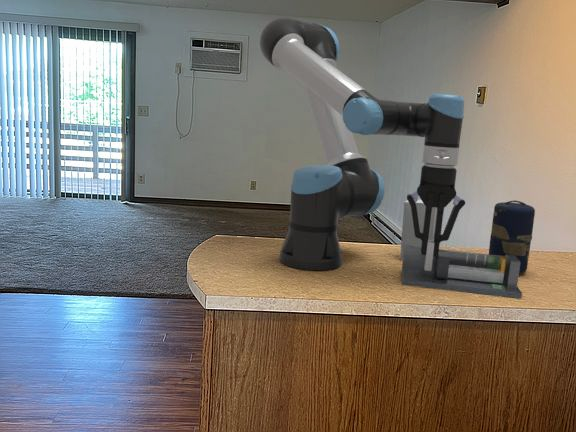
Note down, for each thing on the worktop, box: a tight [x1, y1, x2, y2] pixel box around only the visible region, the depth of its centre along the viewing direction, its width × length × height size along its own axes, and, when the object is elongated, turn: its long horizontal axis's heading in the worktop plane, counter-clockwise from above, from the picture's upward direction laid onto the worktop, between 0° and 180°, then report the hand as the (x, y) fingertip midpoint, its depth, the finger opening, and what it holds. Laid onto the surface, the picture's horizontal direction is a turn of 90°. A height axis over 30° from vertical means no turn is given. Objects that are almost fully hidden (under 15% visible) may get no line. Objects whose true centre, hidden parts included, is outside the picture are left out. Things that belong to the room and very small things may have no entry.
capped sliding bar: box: [435, 251, 506, 284], centre depth 127 cm, size 14×5×6 cm, turn 79°
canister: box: [488, 200, 536, 275], centre depth 140 cm, size 10×10×18 cm
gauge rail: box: [401, 246, 523, 299], centre depth 127 cm, size 25×12×7 cm, turn 79°
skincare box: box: [399, 198, 437, 260], centre depth 146 cm, size 8×7×16 cm
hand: (427, 268), depth 128 cm, fingers closed
